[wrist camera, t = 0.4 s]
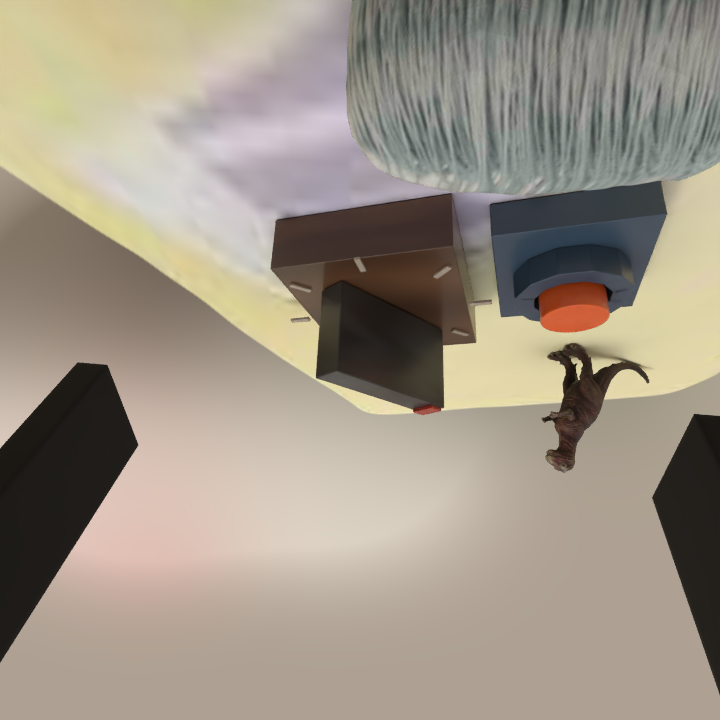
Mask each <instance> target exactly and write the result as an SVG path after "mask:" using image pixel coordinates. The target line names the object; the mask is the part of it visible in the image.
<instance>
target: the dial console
mask: <svg viewBox="0 0 720 720" xmlns="http://www.w3.org/2000/svg"><path fill="white" fill-rule="evenodd" d="M271 270H272V271H273V272H274V273H275V274H276V276H277V277H278V278H279V279H280V280H281V281H282V283H283V284H284V285H285V286H286V287H287V288H288V290H289V291H290V292H291V293H292V294H293V295H294V297H295V298H296V299H297V300H298V301H299V302H300V304H301V305H302V306H303V307H304V308H305V309H306V311H307V312H308V313H309V314H310V315H311V316H312V318H313V319H314V320H315V321H316V322H317V323H318V325H319V326H320V312H321V298H322V291H323V290H325V289H327V288H329V287H331V286H333V285H335V284H337V283H339V282H341V281H344V282H346V283H348V284H350V285H352V286H354V287H356V288H358V289H360V290H362V291H364V292H366V293H368V294H370V295H372V296H374V297H376V298H378V299H380V300H382V301H384V302H387V303H389V304H391V305H393V306H395V307H397V308H399V309H401V310H403V311H405V312H407V313H409V314H411V315H413V316H415V317H417V318H419V319H421V320H423V321H425V322H427V323H429V324H431V325H434V326H436V327H438V328H440V329H442V330H443V345H454V344H467V343H476V323H475V306H476V305H487V304H492V300H482V301H474V298H473V293H472V288H471V283H470V279H469V274H468V269H467V264H466V259H465V255H464V250H463V245H462V240H461V235H460V231H459V226H458V221H457V216H456V211H455V207H454V202H453V197H452V194H448V195H441V196H435V197H428V198H422V199H415V200H408V201H402V202H395V203H389V204H382V205H375V206H369V207H362V208H356V209H349V210H342V211H336V212H329V213H323V214H316V215H310V216H303V217H296V218H290V219H283V220H277V221H276V225H275V234H274V243H273V252H272V261H271ZM305 321H310V318H309V317H304V318H294V319H291V322H292V323H294V322H305Z"/></svg>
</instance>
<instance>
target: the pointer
mask: <svg viewBox="0 0 720 720" xmlns="http://www.w3.org/2000/svg"><path fill="white" fill-rule="evenodd" d="M316 378H317V379H321V380H324V381H327V382H330V383H333V384H336V385H339V386H342V387H345V388H348V389H352V390H355V391H358V392H361V393H364V394H367V395H370V396H373V397H376V398H379V399H383V400H386V401H389V402H392V403H395V404H398V405H401V406H404V407H407V408H410V409H413V412H414V413H418V414H421V415H425V414H430V413H434V412H439V411H441V408H444V379H443V330H442V329H440V328H438V327H436V326H434V325H431V324H429V323H427V322H425V321H423V320H421V319H419V318H417V317H415V316H413V315H411V314H409V313H407V312H405V311H403V310H401V309H399V308H397V307H395V306H393V305H391V304H389V303H387V302H384V301H382V300H380V299H378V298H376V297H374V296H372V295H370V294H368V293H366V292H364V291H362V290H360V289H358V288H356V287H354V286H352V285H350V284H348V283H346V282H344V281H341V282H339V283H337V284H335V285H333V286H331V287H329V288H327V289H325V290H323V291H322V298H321V312H320V327H319V341H318V355H317V369H316Z"/></svg>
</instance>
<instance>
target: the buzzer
mask: <svg viewBox="0 0 720 720" xmlns="http://www.w3.org/2000/svg"><path fill="white" fill-rule="evenodd" d="M666 215H667V211H666V206H665V201H664V196H663V191H662V186H661V181H654V182H649V183H643V184H637V185H632V186H617V187H610V188H606V189H599V190H589V191H582V192H575V193H568V194H561V195H554V196H547V197H540V198H533V199H526V200H519V201H512V202H505V203H498V204H491V205H490V219H491V236H492V245H493V253H494V262H495V270H496V279H497V288H498V296H499V305H500V313H501V317H510V316H522V315H523V316H524V317H526V318H528V319H529V320H533V321H540V312H539V301H538V298H539V295H540V294H541V293H542V292H544V291H545V290H547V289H550V288H552V287H555V286H558V285H561V284H566V283H576V282H592V283H598V284H603V285H604V286H605V288H606V291H607V298H608V305H609V312H610V313H612V312H613V311H615V310H617V309H618V308H620V307H626V306H632V305H633V302H634V299H635V297H636V294H637V291H638V289H639V286H640V284H641V281H642V278H643V276H644V273H645V270H646V268H647V265H648V263H649V260H650V257H651V255H652V252H653V249H654V247H655V244H656V241H657V239H658V236H659V234H660V231H661V228H662V226H663V223H664V220H665V218H666Z"/></svg>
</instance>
